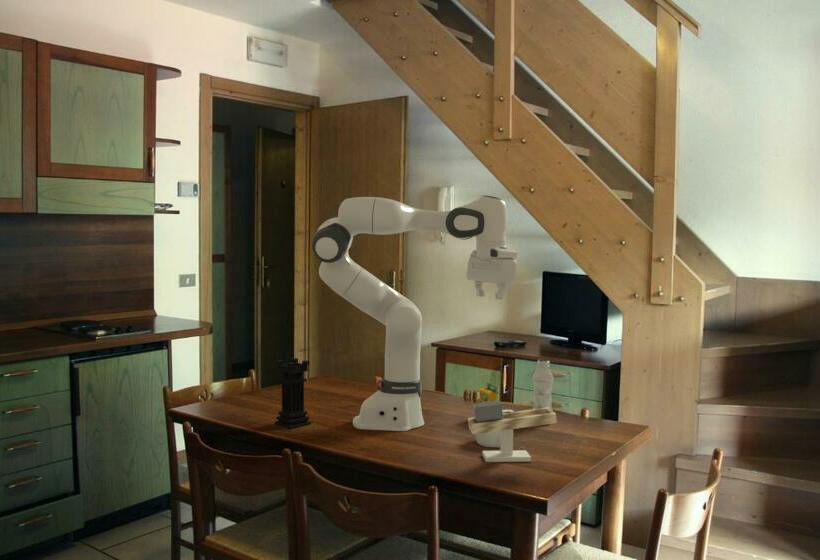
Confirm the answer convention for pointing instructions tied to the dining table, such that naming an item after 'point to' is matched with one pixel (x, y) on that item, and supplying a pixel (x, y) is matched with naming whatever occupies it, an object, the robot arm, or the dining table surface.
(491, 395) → the crayon box
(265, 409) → the dining table surface
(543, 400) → the plastic bottle
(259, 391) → the dining table surface
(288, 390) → the chess piece
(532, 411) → the beam
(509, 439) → the stand
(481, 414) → the block
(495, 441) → the ramekin
